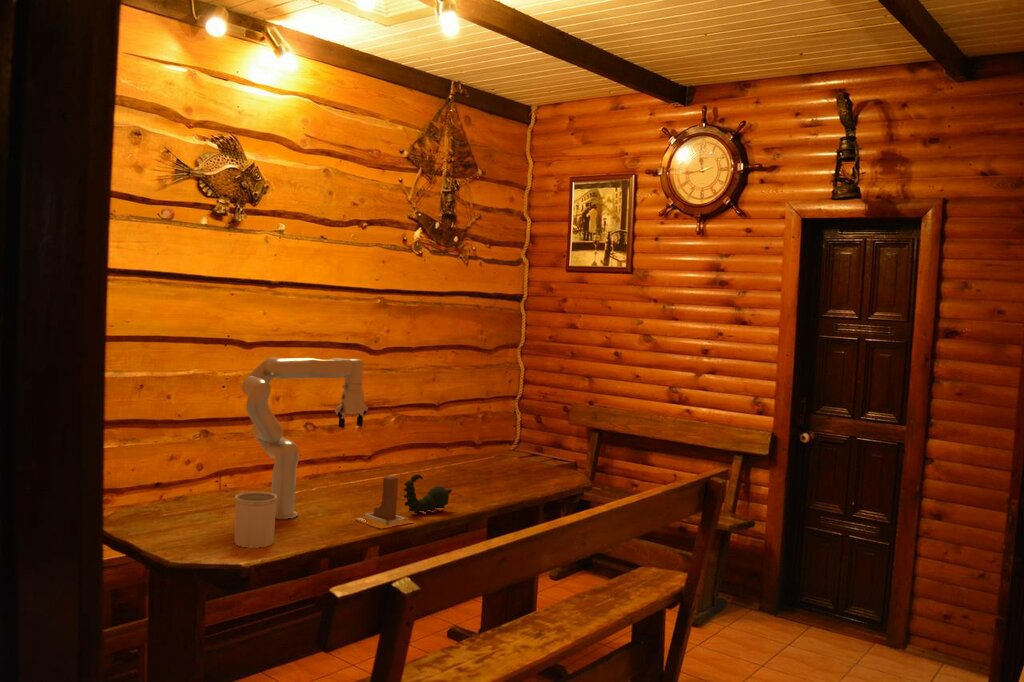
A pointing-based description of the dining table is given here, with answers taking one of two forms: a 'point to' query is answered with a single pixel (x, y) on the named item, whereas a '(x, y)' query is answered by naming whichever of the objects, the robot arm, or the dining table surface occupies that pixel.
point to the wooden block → (388, 499)
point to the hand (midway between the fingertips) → (350, 426)
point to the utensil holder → (255, 519)
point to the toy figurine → (425, 497)
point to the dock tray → (372, 517)
